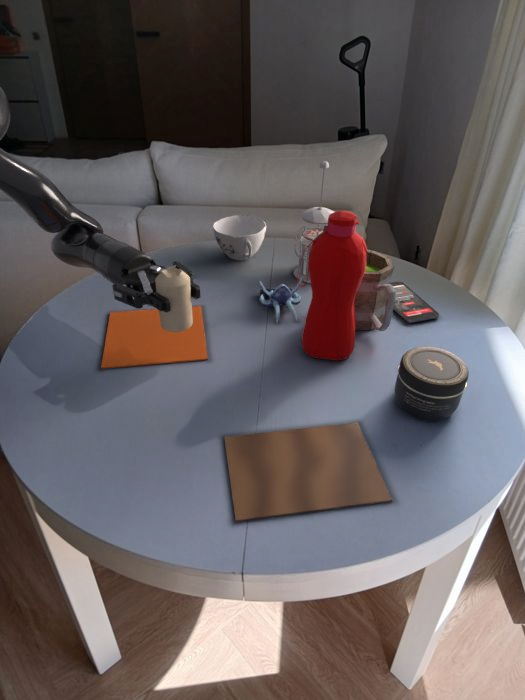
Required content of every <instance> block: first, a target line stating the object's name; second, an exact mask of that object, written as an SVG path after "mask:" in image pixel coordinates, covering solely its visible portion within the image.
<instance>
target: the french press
mask: <svg viewBox="0 0 525 700" xmlns="http://www.w3.org/2000/svg"><path fill="white" fill-rule="evenodd" d="M319 168H320V169H323V170H322V181H321V190H320V203H319V206H315V207H309V208H308V209H306V210H304V211H302V212H301V214H300V218H301V219H302V220H303V221H304V222H306V223H309V224H312V225H317V226H318V227H315V226H314V227H308V228H306V225H303V226H302V227H300V229H299V230H298V232H297V234H296V237H295V241H294V253H295V256H296V257H297V258H298V266H297V267H296V268H294V270H293V275H294V277H295V278H296V279H297V274H298V281H300V279H301V278H302V277H303V279H302V282H304V283H306V282H307V284H311V280H310V273H309V275H308V261H309V253H310V251H311V250H310V249H312V247H311V246H312V244H310V243H311V242H312V241H313V240H314V238H315V237H317V236H318V235H319V234H320V233H322V232H323V230H324V227H320V225H328V218H329V215H330V214H331V213H334V212H335V211H334V210H332V209H329V208H327V207H324V206H322V199H323V189H324V178H325V169H329V168H330V164H329V162H328V161H327V160H323V161H321V162H320V163H319ZM302 229H303V230H302ZM300 232H301V237H300V239H299V251H298V252H299V253H297V241H298V237H299V235H300ZM304 241H306V242H307V243H306V242H304ZM308 242H309V243H308ZM312 243H313V242H312ZM309 244H310V245H309ZM308 245H309V246H308ZM307 246H308V247H307ZM306 247H307V249H306ZM305 249H306V251H305ZM304 251H305V253H304ZM303 254H304V255H303ZM302 256H303V258H302ZM301 259H302V261H301ZM300 262H301V264H300ZM299 265H300V267H299ZM298 269H299V271H298ZM307 279H308V281H307Z"/></svg>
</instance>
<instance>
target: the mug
mask: <svg viewBox="0 0 525 700" xmlns="http://www.w3.org/2000/svg"><path fill="white" fill-rule="evenodd" d="M394 269H395V266H394V263H393V262H392V259H391V257H390V256H388V255H385V254H383V253H380V252H378V251H375V250H372V249H367V255H366V271H365V273H364V275H363V278H362V280H361V283H360V286H359V289H358V292H357V295H356V298H355V301H354V306H355V317H356V328H355V331H372V330H373V329H375V330H376V331H380V332H385V331H387V329H388V328H389V327H390V326H391V325H390V324H391V321H392V318H393V311H394V305H395V302H396V291H395V289H394V287H393V286H392V285H390V283H391V278H392V275H393V272H394ZM387 299H388V303H387Z"/></svg>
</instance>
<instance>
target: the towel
mask: <svg viewBox="0 0 525 700" xmlns="http://www.w3.org/2000/svg"><path fill="white" fill-rule="evenodd" d="M192 316H193V323H192V326H191V327H190V328H189V329H187V330H184V331H181V332H170V331H166V330H164V329H163V328H162V327H161V324H160V317H159V310H158V309H156V308H154V309H153V308H151V309H136V310H121V311H110V312H109V316H108V324H107V329H106V335H105V342H104V347H103V354H102V359H101V365H100V369H104V370H105V369H113V368H114V369H115V368H126V367H139V366H151V365H162V364H174V363H184V362H185V363H187V362H199V361H200V362H201V361H208V351H207V341H206V335H205V326H204V316H203V307H202V305H196V306H195V305H194V306H192Z"/></svg>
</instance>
